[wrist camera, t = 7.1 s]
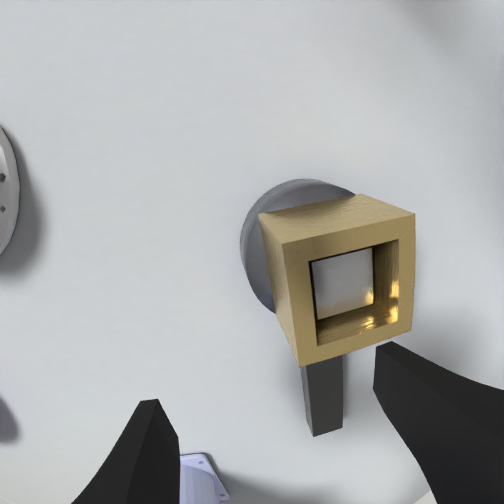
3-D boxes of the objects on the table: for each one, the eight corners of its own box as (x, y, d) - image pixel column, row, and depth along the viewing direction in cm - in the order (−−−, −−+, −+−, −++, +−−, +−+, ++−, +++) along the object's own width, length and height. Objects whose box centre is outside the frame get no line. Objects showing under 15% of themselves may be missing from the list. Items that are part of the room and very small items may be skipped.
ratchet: (361, 403, 23) (390, 451, 18) (278, 428, 23) (294, 484, 18) (354, 169, 17) (414, 183, 12) (227, 192, 16) (240, 216, 11)
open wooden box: (366, 288, 17) (411, 330, 12) (275, 312, 16) (299, 367, 12) (361, 193, 15) (415, 214, 11) (257, 214, 14) (281, 243, 10)
